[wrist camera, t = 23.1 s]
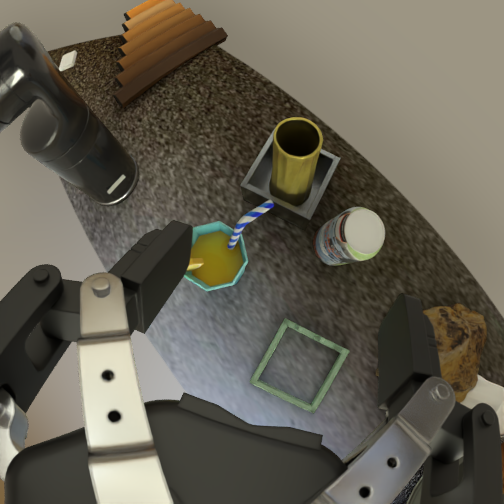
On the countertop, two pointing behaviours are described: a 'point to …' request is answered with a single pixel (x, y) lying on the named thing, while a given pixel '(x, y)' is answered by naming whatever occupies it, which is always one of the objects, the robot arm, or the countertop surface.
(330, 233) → the beverage can
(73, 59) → the eraser
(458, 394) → the rock
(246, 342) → the countertop surface
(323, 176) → the gray open box
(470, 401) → the cup
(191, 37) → the pan flute
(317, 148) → the vase
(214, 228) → the cup
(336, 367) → the green square frame
